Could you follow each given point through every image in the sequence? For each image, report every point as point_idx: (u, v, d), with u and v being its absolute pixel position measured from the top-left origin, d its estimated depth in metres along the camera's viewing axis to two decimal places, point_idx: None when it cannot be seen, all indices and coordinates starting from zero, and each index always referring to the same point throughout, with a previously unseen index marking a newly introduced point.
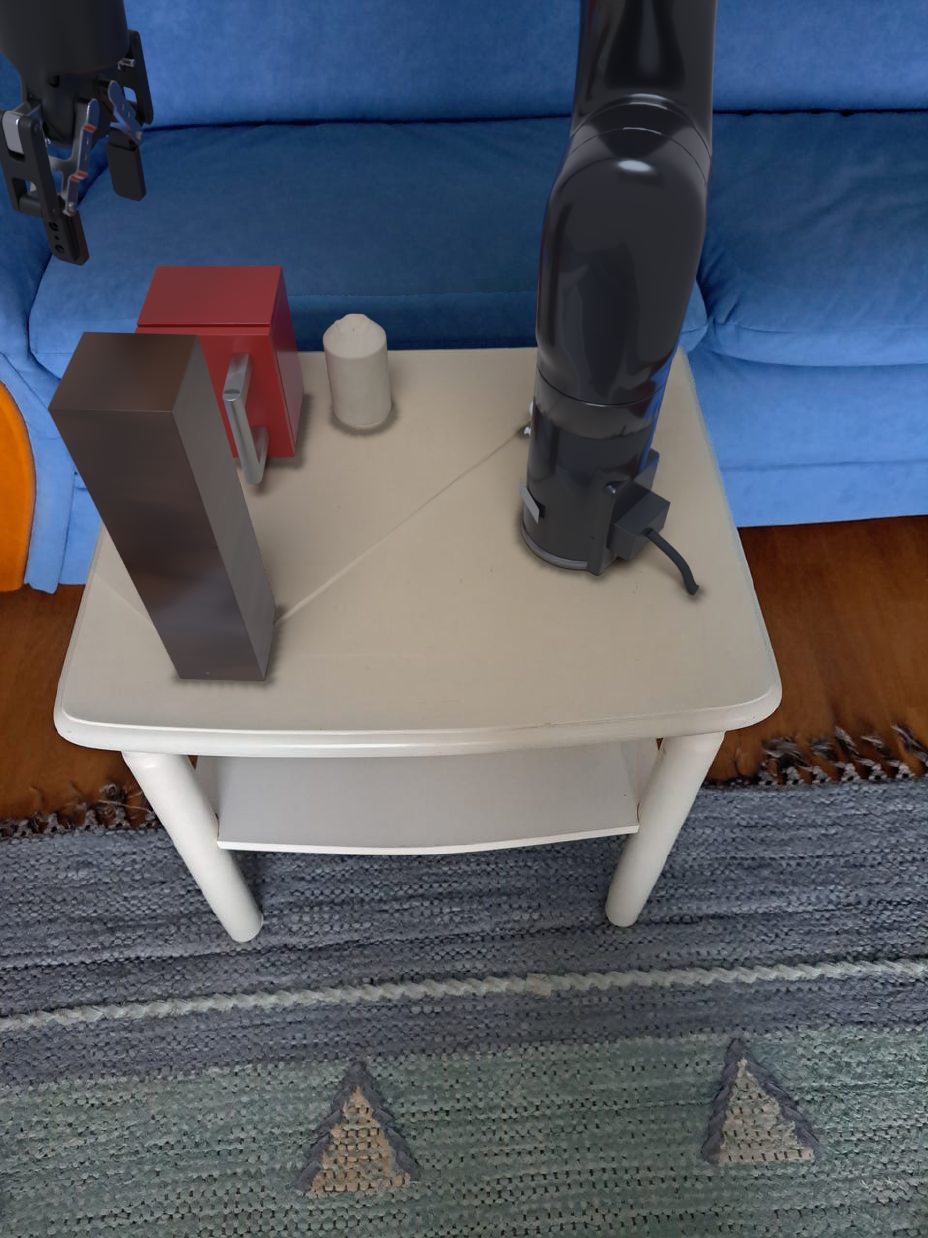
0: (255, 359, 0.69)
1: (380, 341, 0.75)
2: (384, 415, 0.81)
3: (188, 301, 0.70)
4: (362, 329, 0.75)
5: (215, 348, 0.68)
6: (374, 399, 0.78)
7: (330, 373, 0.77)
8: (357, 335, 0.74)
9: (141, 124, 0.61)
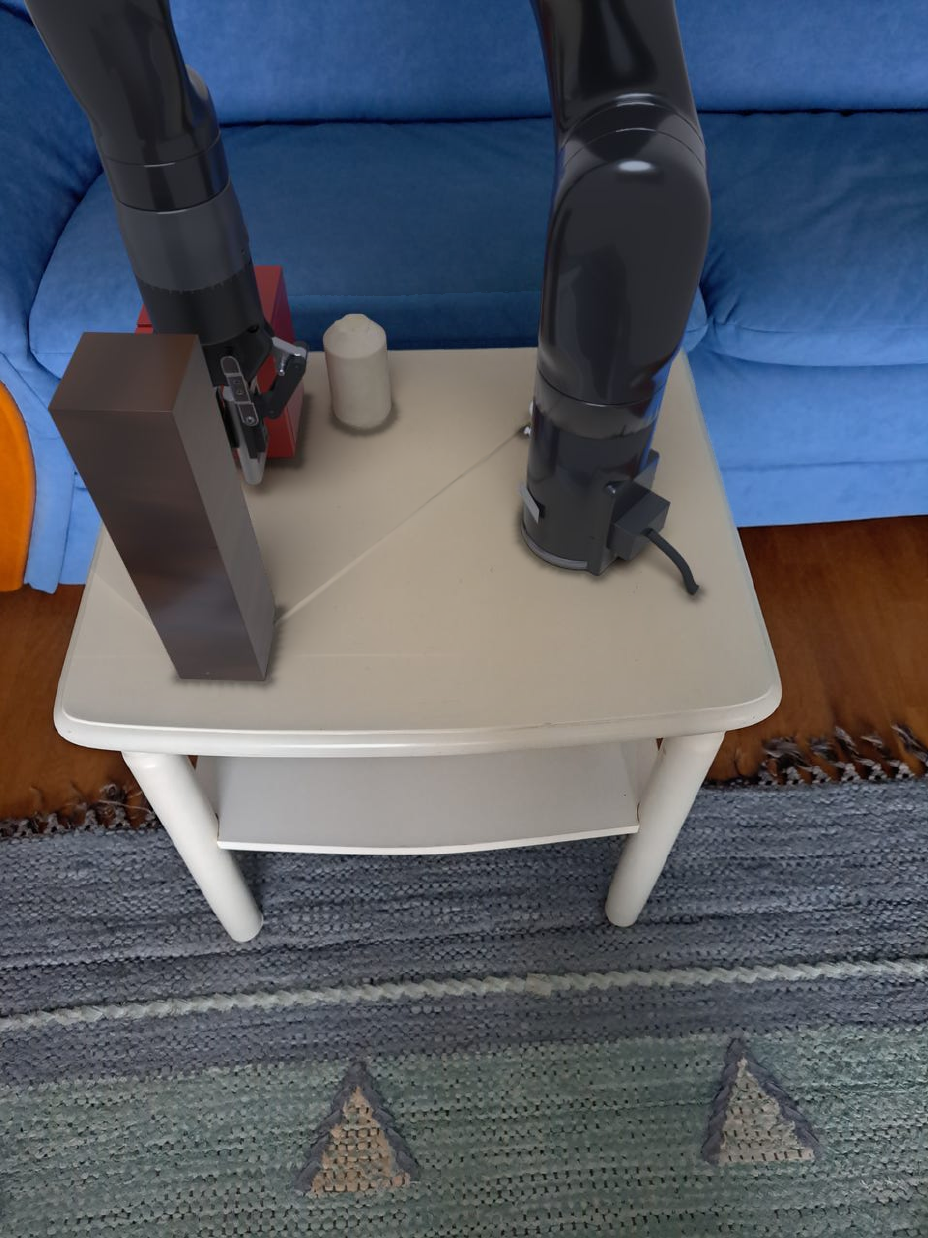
0: None
1: (380, 341, 0.75)
2: (384, 415, 0.81)
3: None
4: (362, 329, 0.75)
5: None
6: (374, 399, 0.78)
7: (330, 373, 0.77)
8: (357, 335, 0.74)
9: None
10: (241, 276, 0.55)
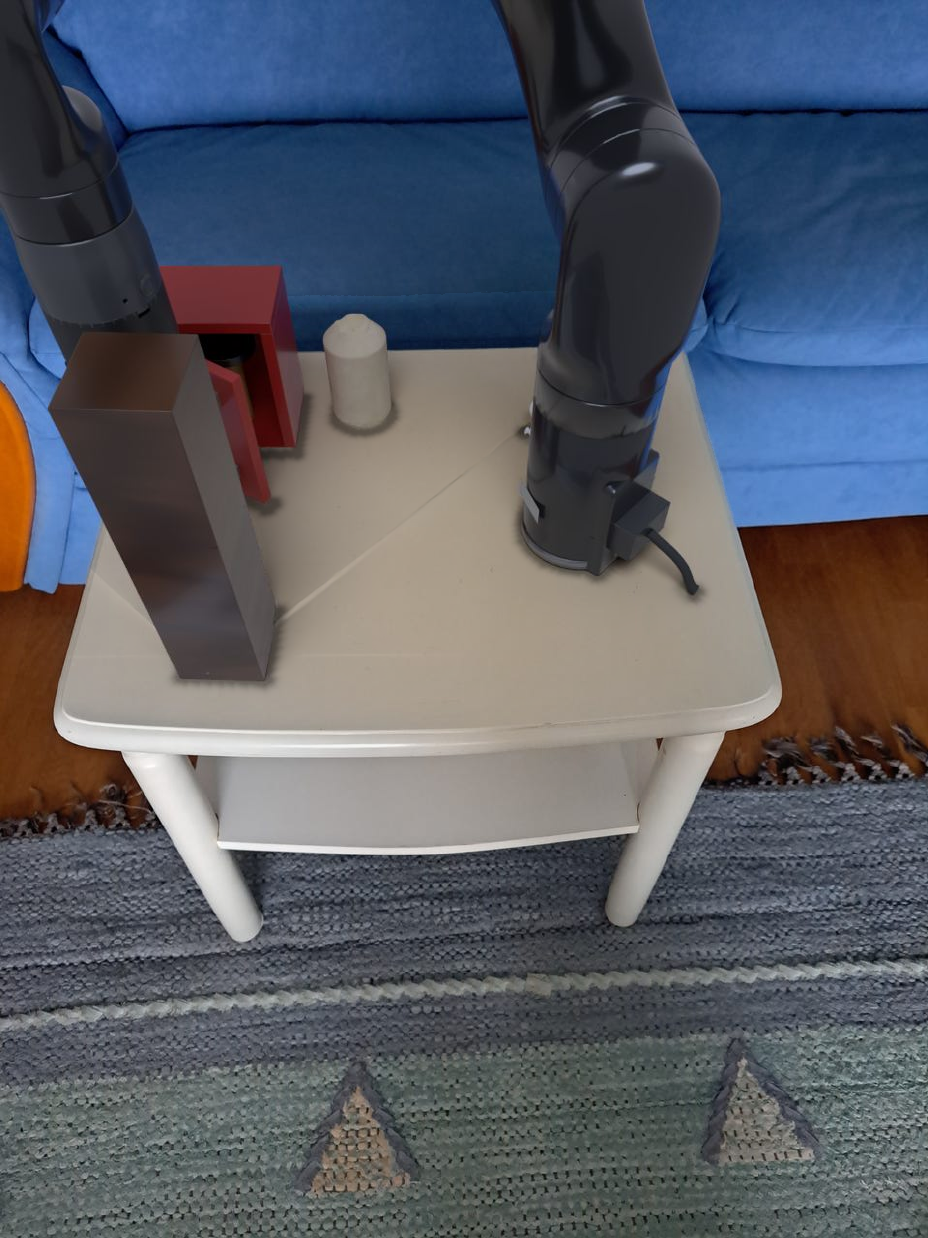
0: (223, 400, 0.66)
1: (380, 341, 0.75)
2: (384, 415, 0.81)
3: (188, 301, 0.70)
4: (362, 329, 0.75)
5: None
6: (374, 399, 0.78)
7: (330, 373, 0.77)
8: (357, 335, 0.74)
9: None
10: (121, 324, 0.52)
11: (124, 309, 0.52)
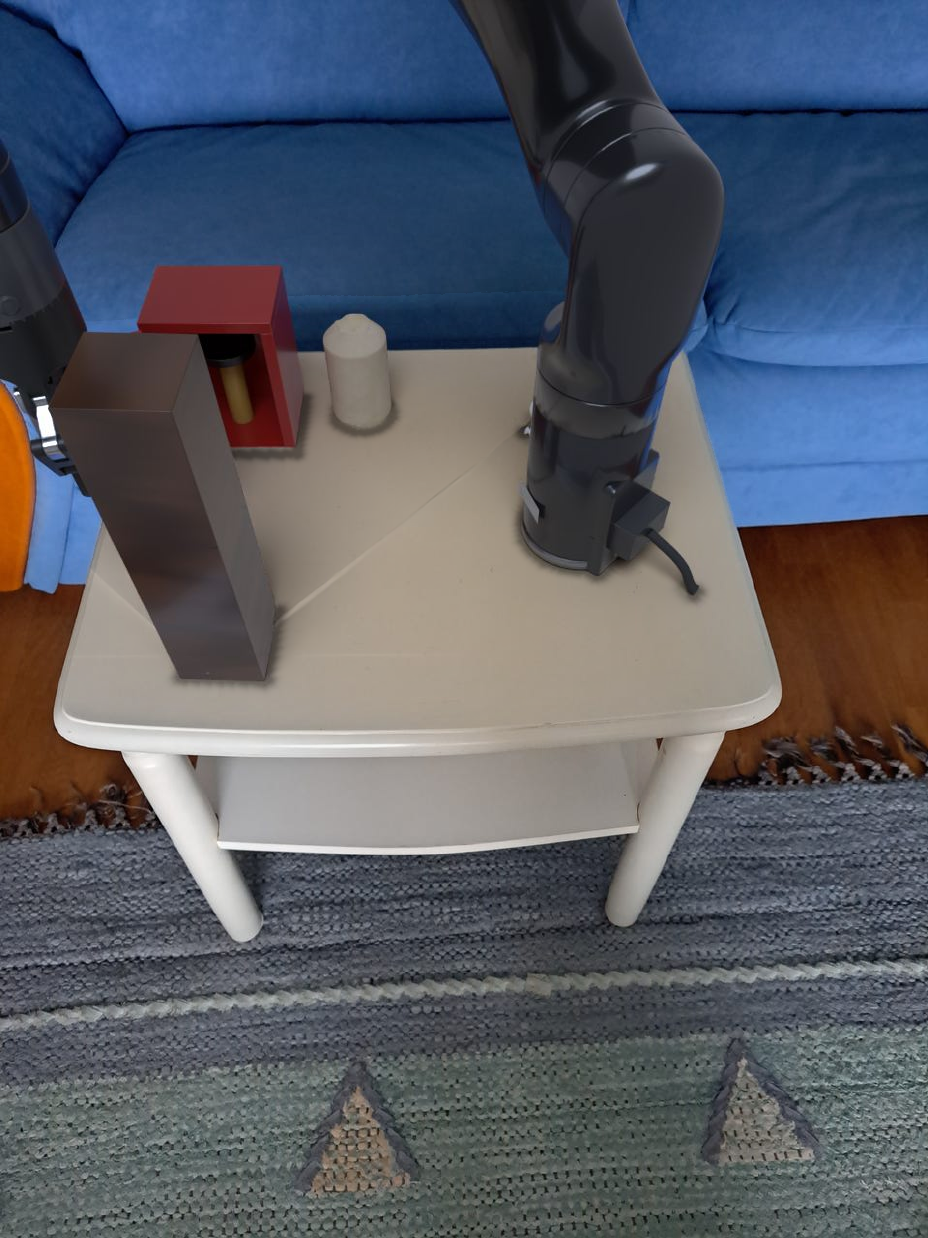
0: None
1: (380, 341, 0.75)
2: (384, 415, 0.81)
3: (188, 301, 0.70)
4: (362, 329, 0.75)
5: None
6: (374, 399, 0.78)
7: (330, 373, 0.77)
8: (357, 335, 0.74)
9: None
10: None
11: None
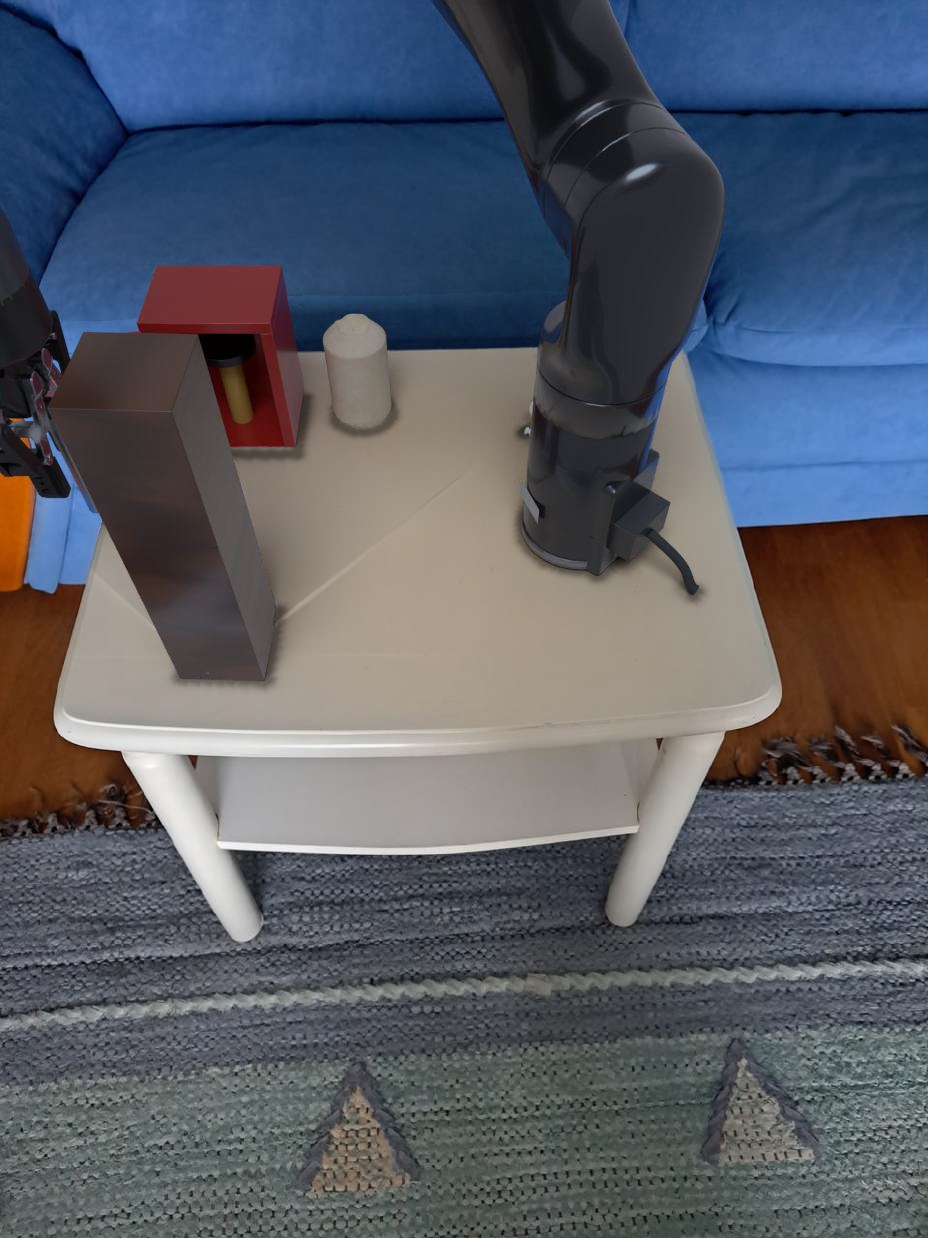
0: None
1: (380, 341, 0.75)
2: (384, 415, 0.81)
3: (188, 301, 0.70)
4: (362, 329, 0.75)
5: None
6: (374, 399, 0.78)
7: (330, 373, 0.77)
8: (357, 335, 0.74)
9: None
10: None
11: None
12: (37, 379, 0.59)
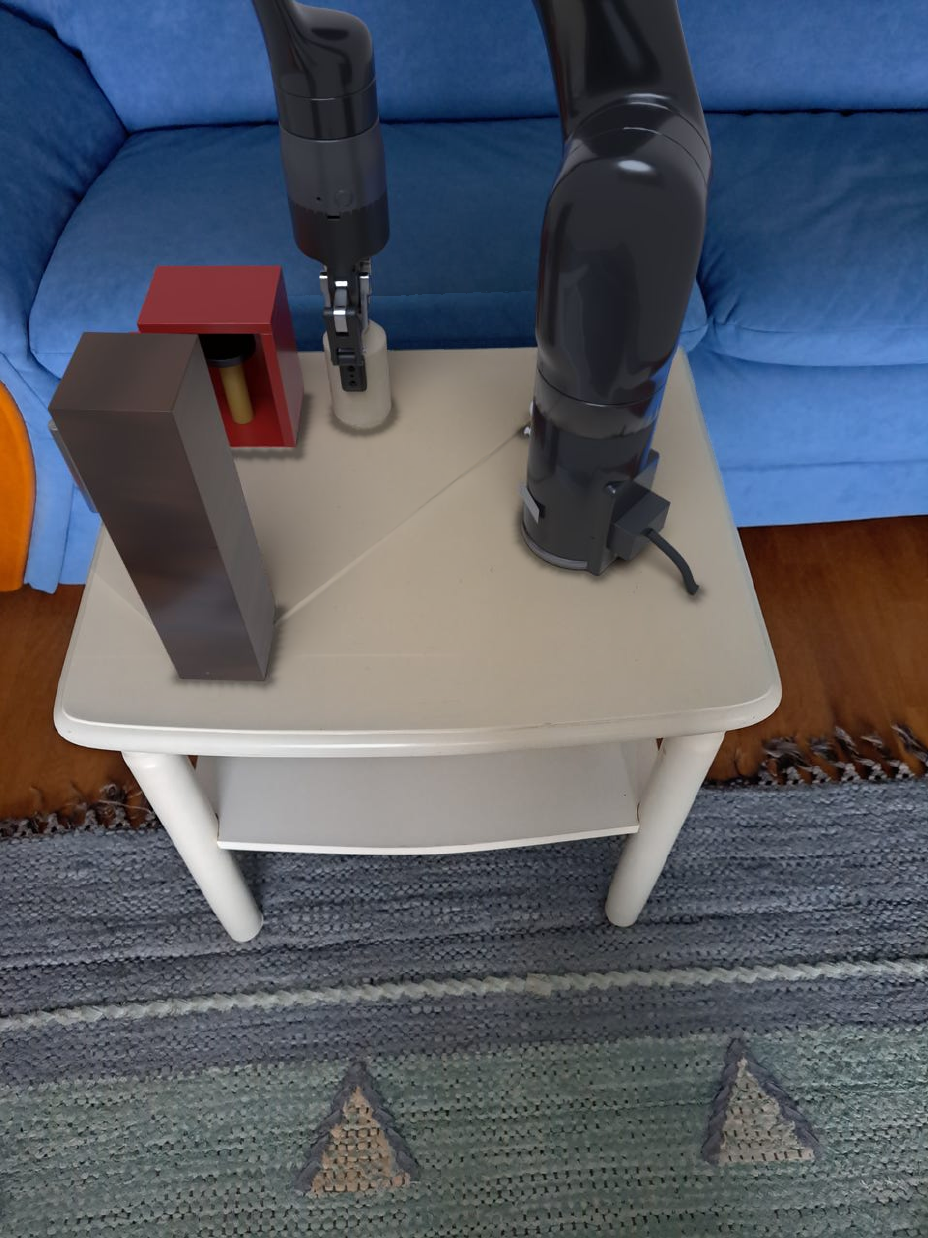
0: None
1: (380, 341, 0.75)
2: (384, 415, 0.81)
3: (188, 301, 0.70)
4: None
5: None
6: (374, 399, 0.78)
7: (330, 373, 0.77)
8: None
9: None
10: (311, 215, 0.63)
11: (316, 204, 0.62)
12: (369, 277, 0.70)
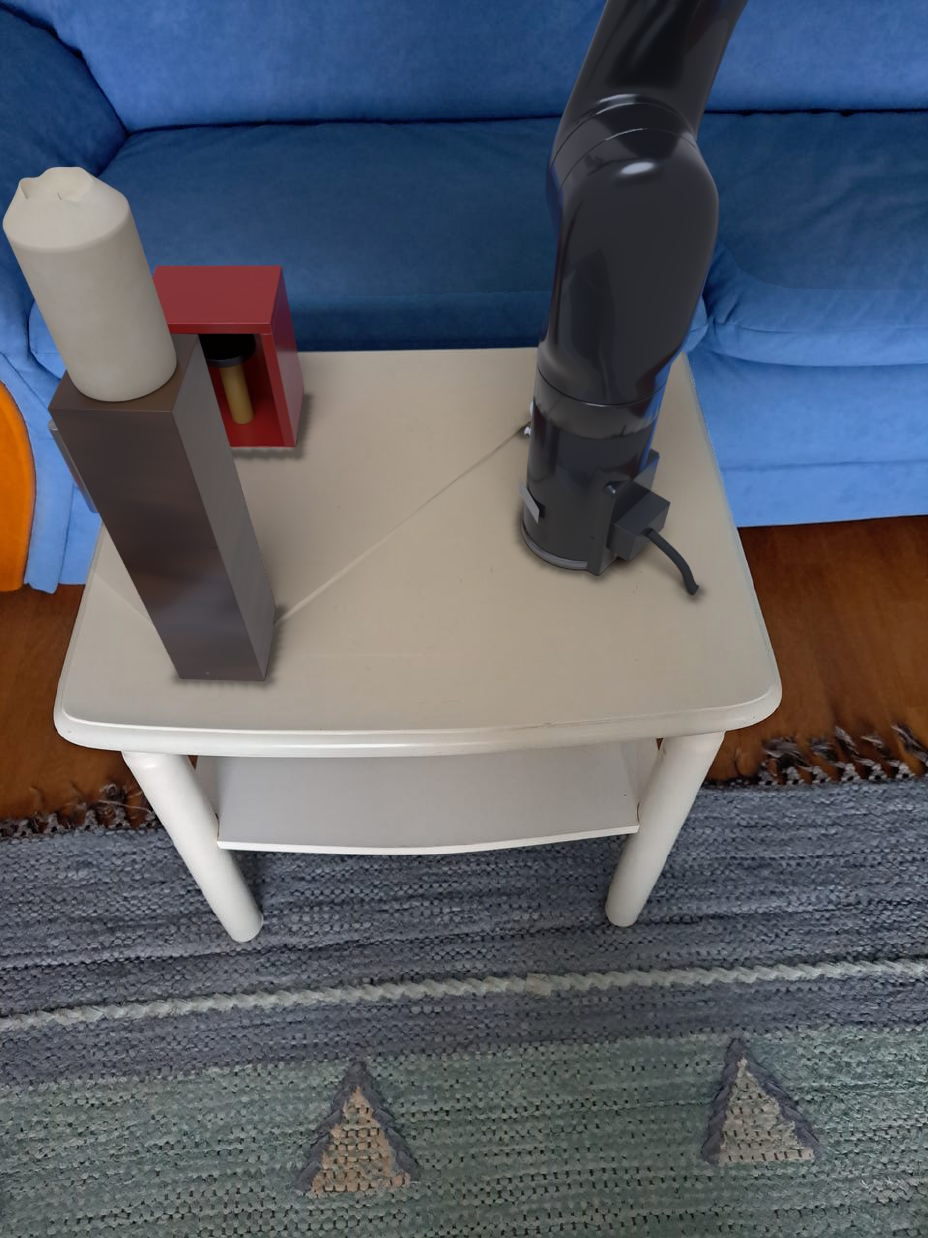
0: None
1: (112, 219, 0.38)
2: (153, 370, 0.44)
3: (188, 301, 0.70)
4: (79, 196, 0.39)
5: None
6: (121, 338, 0.42)
7: (29, 286, 0.40)
8: (58, 203, 0.37)
9: None
10: None
11: None
12: None
